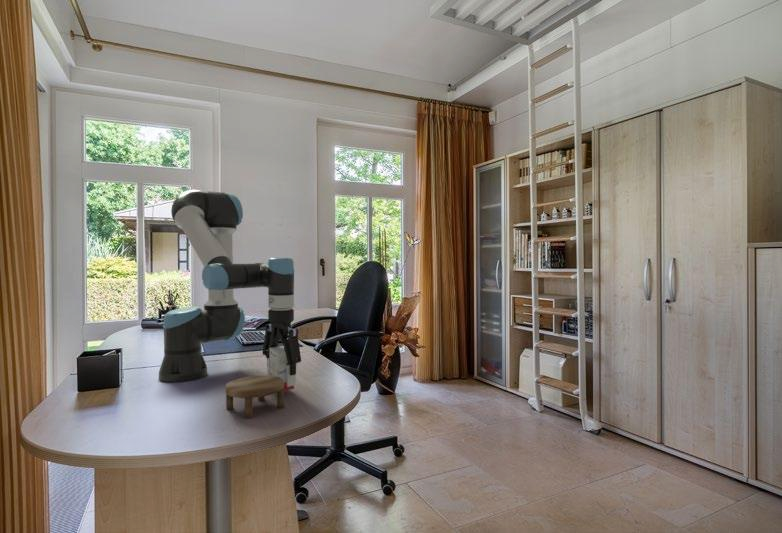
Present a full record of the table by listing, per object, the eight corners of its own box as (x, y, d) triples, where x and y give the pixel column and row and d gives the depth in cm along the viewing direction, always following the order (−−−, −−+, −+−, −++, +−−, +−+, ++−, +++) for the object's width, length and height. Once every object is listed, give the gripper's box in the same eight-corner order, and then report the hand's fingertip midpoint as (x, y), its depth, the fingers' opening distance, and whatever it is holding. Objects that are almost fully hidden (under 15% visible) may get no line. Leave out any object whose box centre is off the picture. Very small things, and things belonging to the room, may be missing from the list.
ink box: (294, 389, 129) (294, 350, 128) (278, 392, 126) (278, 352, 125) (284, 382, 136) (284, 345, 135) (268, 384, 133) (268, 346, 133)
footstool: (215, 409, 116) (215, 384, 116) (264, 395, 127) (264, 372, 127) (244, 423, 106) (244, 395, 106) (295, 407, 117) (294, 382, 117)
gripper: (250, 306, 134) (250, 377, 135) (292, 313, 120) (292, 393, 121) (271, 304, 140) (271, 372, 141) (314, 310, 126) (313, 386, 126)
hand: (281, 381), depth 131 cm, fingers closed on ink box, 9 cm apart
